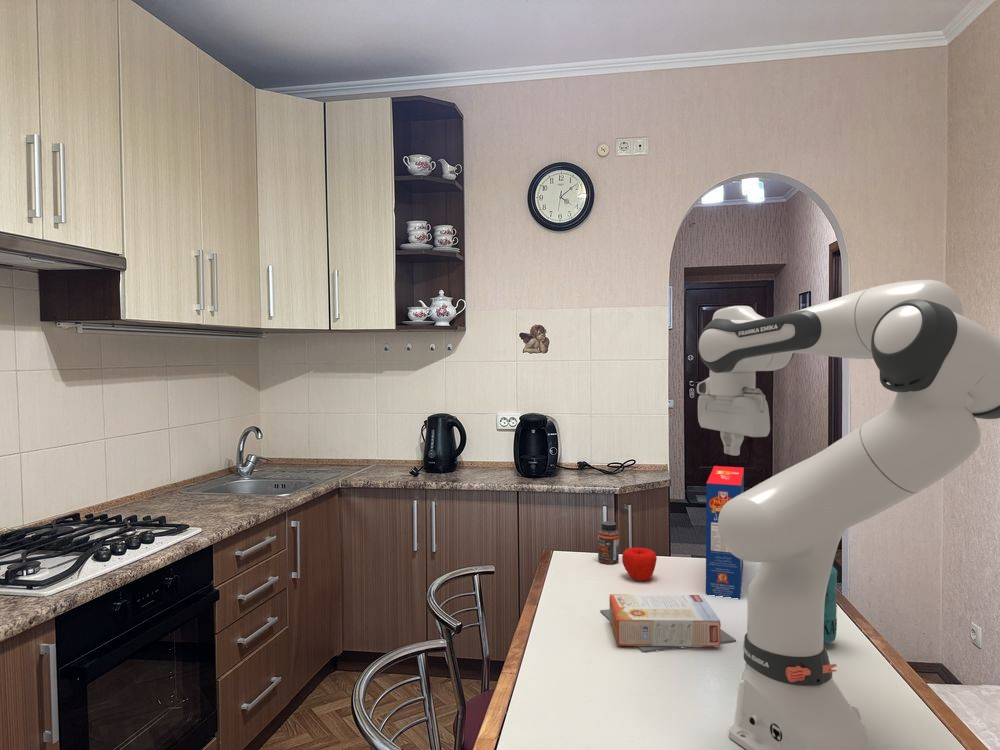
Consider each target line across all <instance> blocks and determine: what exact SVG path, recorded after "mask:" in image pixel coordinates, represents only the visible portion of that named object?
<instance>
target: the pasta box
mask: <svg viewBox="0 0 1000 750" xmlns="http://www.w3.org/2000/svg"><path fill="white" fill-rule="evenodd" d="M705 487H706V494H705V495H706V497H705V500H706V502H705V503H706V505H705V506H706V509H705V512H706V515H705V519H706V521H705V595H706V594H707V595H706V596H708V595H715V596H714V597H716V596H723V597H722V598H724V597H731V598H730V599H732V598H738V599H737V600H741V595H740V594H742V582H743V574H744V573H743V571H744V560H741V559H739V558H737V557H736V556H734V555H733V554H732V553H731V552H730V551H729V550H728V549H727V548H726V546H725V545H724V543H723V541H722V539H721V537H720V534H719V529H718V518H719V514H720V511H721V509H722V507H723V506H724V505H725V504H726V503H727V502H728V501H729V500H731V499H733V498H734V497H736V496H738V495H740V494H742V493H744V492H745V490H744V489H745V468H744V467H739V466H736V467H735V466H723V465H722V466H719V465H713V468H712V470H711V472H710V474H709V476H708V478H707V481H706V485H705Z"/></svg>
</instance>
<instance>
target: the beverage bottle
mask: <svg viewBox="0 0 1000 750" xmlns="http://www.w3.org/2000/svg"><path fill="white" fill-rule="evenodd" d="M837 578H838V570H837V569H836V568H835V566H833V565H832V569H831V573H830V577H829V581H828V585H827V589H826V595H825V604H824V638H823V644H824V643H825V644H826V643H833V642H834V641H835V640H836V638H837V634H838V633H837V626H838V624H837V623H838V621H837V616H838V613H837V612H838V610H837V607H838V605H837V602H838V601H837V600H838V596H837V595H838V594H837V589H838V588H837V587H838V584H837V583H838V582H837V581H838V579H837Z"/></svg>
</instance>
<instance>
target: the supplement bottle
mask: <svg viewBox="0 0 1000 750" xmlns="http://www.w3.org/2000/svg"><path fill="white" fill-rule="evenodd" d="M597 532H598V535H597V541H598V542H597V543H598V544H597V559H598V560H597V561H598V562H600V564H604V565H605V564H606V565H614V564H617V563H619V561H620V560H619V558H620V557H619V555H620V554H619V553H620V532H619V530H617V526H616V522H614V521H608V520H607V521H602V522H601V528H600V529H599V530H598V531H597Z"/></svg>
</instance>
